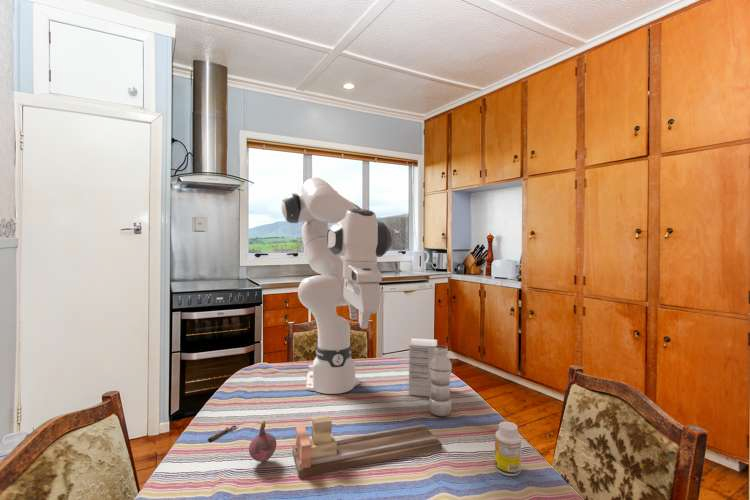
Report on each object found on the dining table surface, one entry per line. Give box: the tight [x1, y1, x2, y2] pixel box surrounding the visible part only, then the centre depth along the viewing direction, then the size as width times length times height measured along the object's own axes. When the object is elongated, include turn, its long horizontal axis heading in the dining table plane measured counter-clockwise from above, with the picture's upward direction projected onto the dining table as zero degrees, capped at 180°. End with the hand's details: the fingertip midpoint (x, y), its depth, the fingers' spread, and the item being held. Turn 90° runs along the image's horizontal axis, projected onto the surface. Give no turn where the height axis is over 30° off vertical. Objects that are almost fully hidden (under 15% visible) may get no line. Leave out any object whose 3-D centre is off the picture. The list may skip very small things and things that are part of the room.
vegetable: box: [248, 420, 277, 464], centre depth 88 cm, size 6×6×10 cm
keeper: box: [308, 414, 337, 459], centre depth 89 cm, size 5×6×8 cm
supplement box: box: [408, 337, 438, 398], centre depth 130 cm, size 10×9×17 cm
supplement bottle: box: [494, 420, 522, 477], centre depth 87 cm, size 6×6×10 cm
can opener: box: [207, 424, 239, 442], centre depth 101 cm, size 9×2×1 cm, turn 146°
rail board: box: [292, 423, 443, 479], centre depth 93 cm, size 10×35×6 cm, turn 110°
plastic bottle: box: [428, 345, 453, 417], centre depth 113 cm, size 6×7×20 cm
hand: (358, 323), depth 101 cm, fingers open, 8 cm apart
